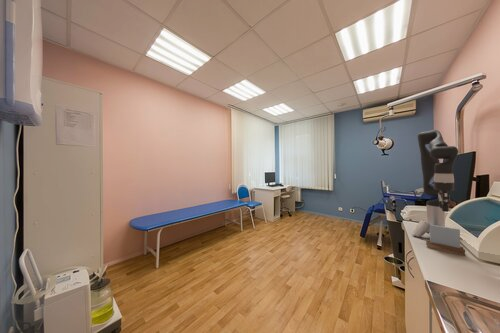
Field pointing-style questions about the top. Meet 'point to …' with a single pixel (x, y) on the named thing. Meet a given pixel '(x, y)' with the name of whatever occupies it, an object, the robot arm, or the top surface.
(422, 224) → the infrared thermometer
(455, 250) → the slot rack
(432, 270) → the top surface
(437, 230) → the slate sheet
